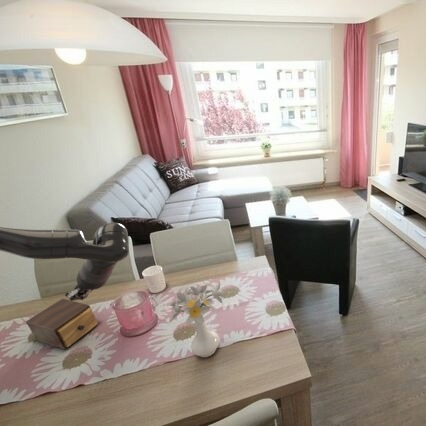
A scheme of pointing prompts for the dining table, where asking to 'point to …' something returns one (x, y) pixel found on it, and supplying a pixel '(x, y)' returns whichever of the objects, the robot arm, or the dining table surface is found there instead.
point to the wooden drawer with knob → (77, 327)
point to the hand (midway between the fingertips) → (81, 296)
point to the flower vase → (199, 317)
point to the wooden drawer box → (54, 321)
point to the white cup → (154, 278)
